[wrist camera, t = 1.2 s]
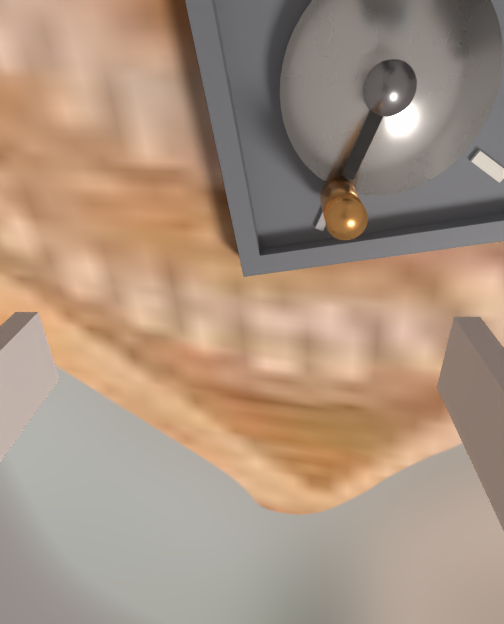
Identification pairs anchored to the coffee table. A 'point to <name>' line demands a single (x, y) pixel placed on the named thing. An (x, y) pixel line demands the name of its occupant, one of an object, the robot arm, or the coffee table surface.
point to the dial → (386, 95)
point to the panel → (299, 178)
